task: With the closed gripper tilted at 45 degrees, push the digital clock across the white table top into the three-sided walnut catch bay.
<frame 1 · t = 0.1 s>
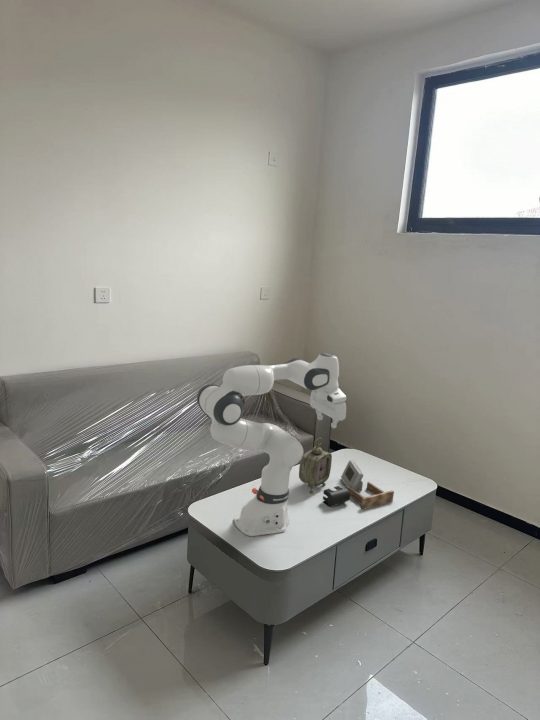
hand: (326, 423, 207), 39 cm above the table, tool pointing down, fingers open, 8 cm apart
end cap: (335, 504, 221), on the table
tabletop clock: (312, 488, 234), on the table
catch bay: (367, 498, 228), on the table
digital clock: (350, 486, 238), on the table
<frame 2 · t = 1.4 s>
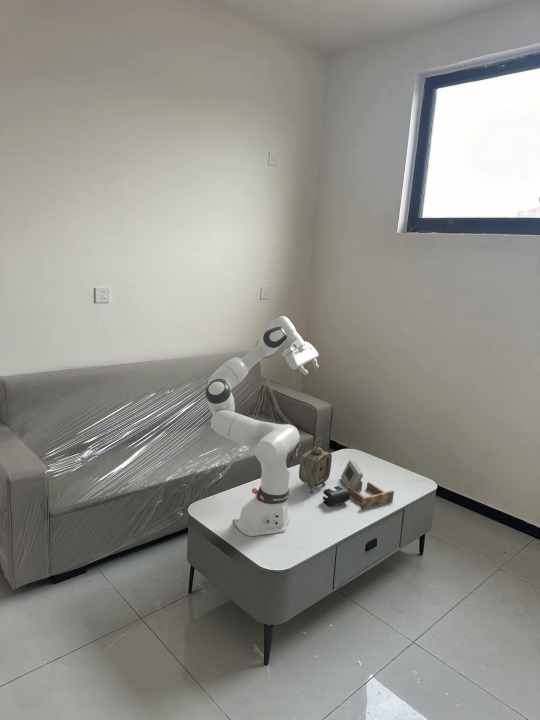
hand: (312, 371, 233), 53 cm above the table, tool tilted 40°, fingers open, 8 cm apart
nothing on the table moved.
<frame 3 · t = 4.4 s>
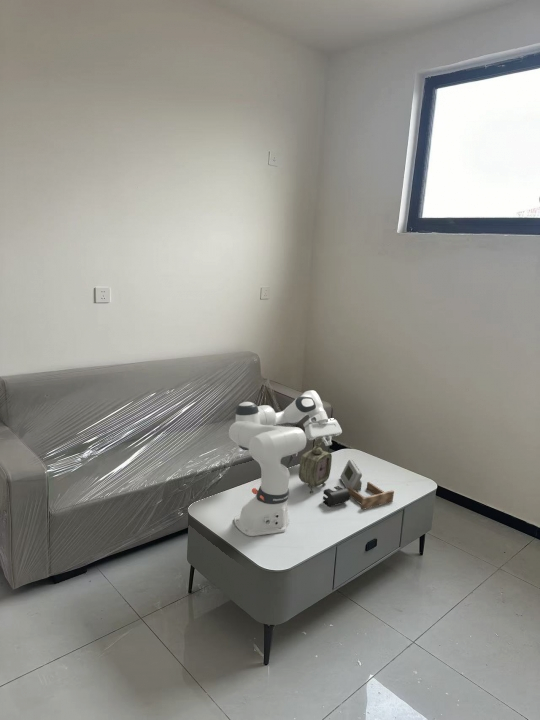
hand: (328, 445, 251), 13 cm above the table, tool tilted 45°, fingers closed
nothing on the table moved.
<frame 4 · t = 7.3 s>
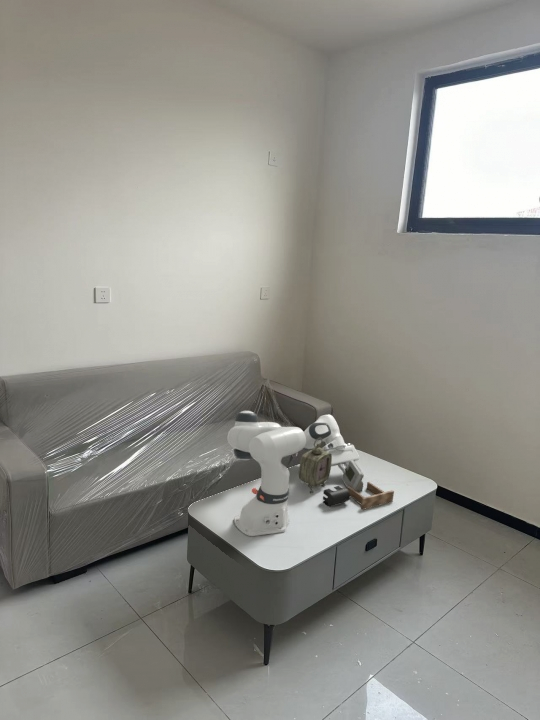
hand: (346, 472, 242), 5 cm above the table, tool tilted 45°, fingers closed
digital clock: (351, 487, 238), on the table, touching gripper
everything else where it was.
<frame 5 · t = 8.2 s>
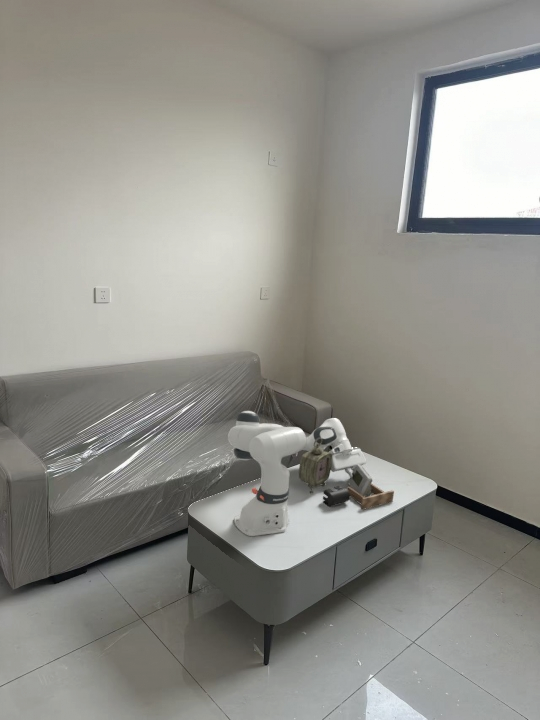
hand: (353, 476, 237), 5 cm above the table, tool tilted 45°, fingers closed, pressing on digital clock
digital clock: (358, 491, 234), on the table, touching gripper
everything else where it was.
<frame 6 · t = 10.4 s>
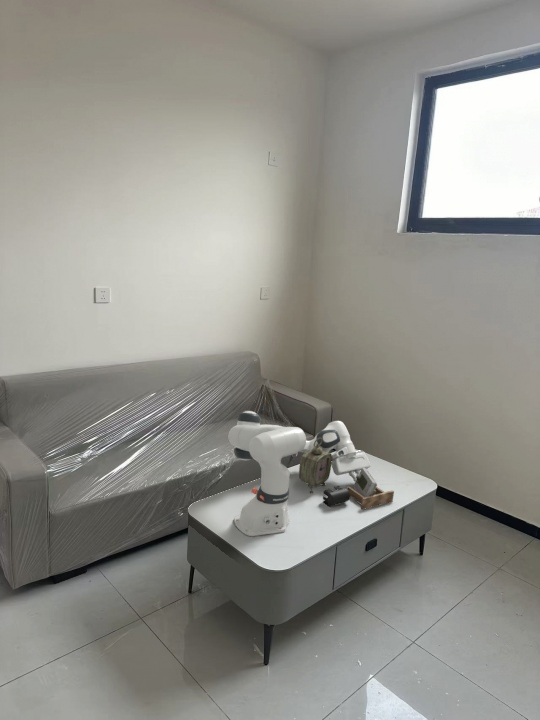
hand: (357, 480, 234), 5 cm above the table, tool tilted 45°, fingers closed
digital clock: (363, 496, 230), on the table
everything else where it was.
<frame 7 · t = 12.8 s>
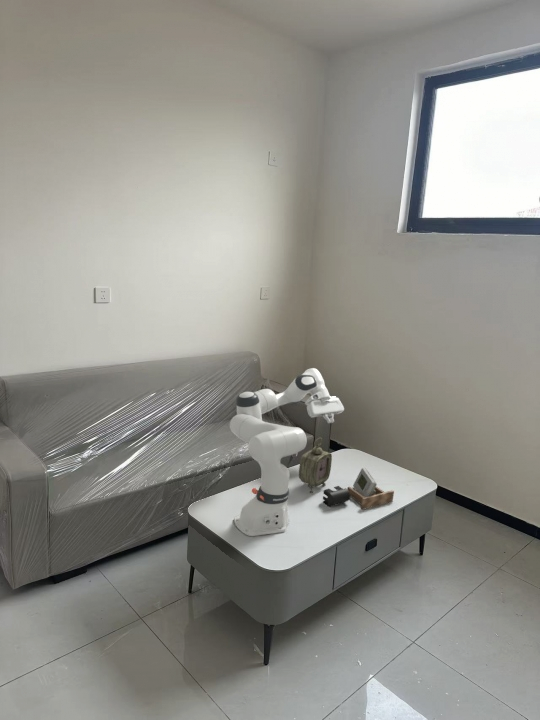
hand: (331, 422, 248), 25 cm above the table, tool tilted 45°, fingers closed
nothing on the table moved.
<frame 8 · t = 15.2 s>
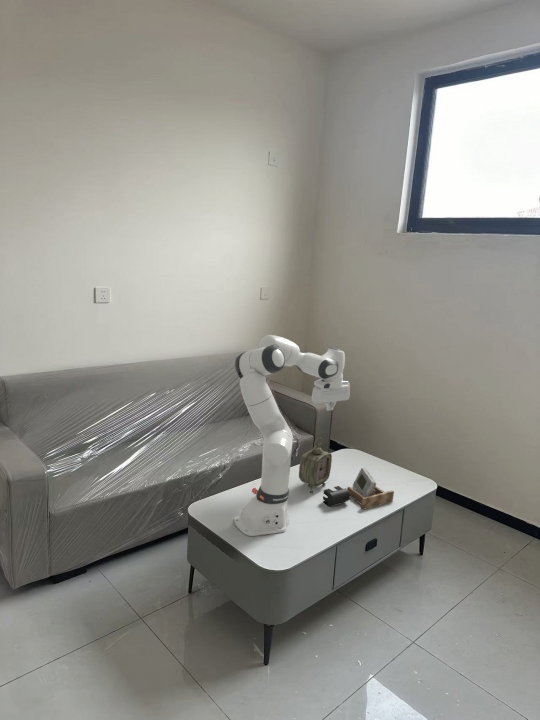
hand: (329, 410, 236), 35 cm above the table, tool pointing down, fingers closed
nothing on the table moved.
at the end: digital clock inside the target area (1.1 cm from its centre), on the table; digital clock tilted 0°; digital clock moved 8.9 cm from its start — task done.
